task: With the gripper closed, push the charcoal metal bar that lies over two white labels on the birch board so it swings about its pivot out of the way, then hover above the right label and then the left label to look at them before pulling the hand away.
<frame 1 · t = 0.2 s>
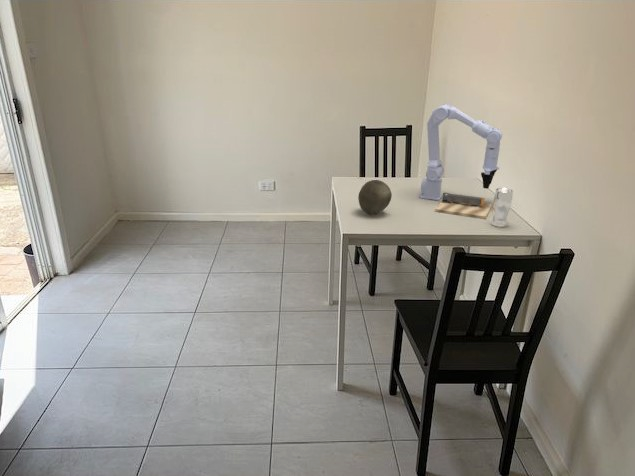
hand: (487, 186, 217), 9 cm above the table, tool pointing down, fingers open, 7 cm apart
label board: (463, 209, 215), on the table
swing bar: (462, 199, 217), point 4 cm above the table, hinge at 0.0°
grey ball: (374, 213, 211), on the table
beer glass: (499, 224, 198), on the table
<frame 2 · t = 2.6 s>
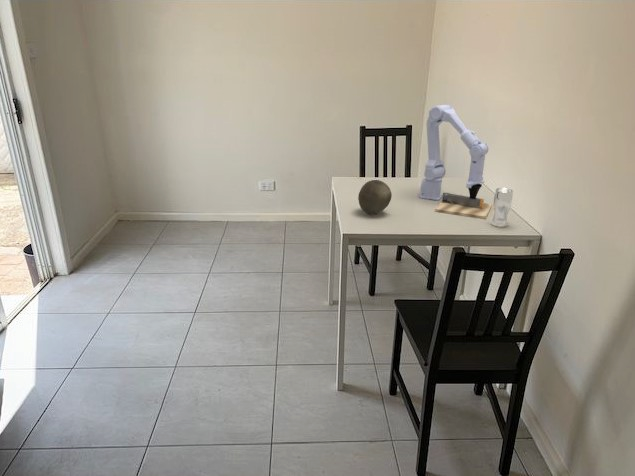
hand: (472, 199, 215), 4 cm above the table, tool pointing down, fingers closed
swing bar: (462, 199, 216), point 4 cm above the table, hinge at 6.1°, touching gripper
everything else where it was.
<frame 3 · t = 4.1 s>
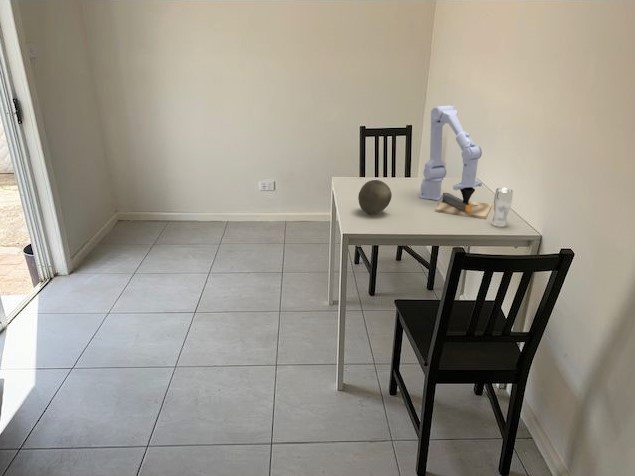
hand: (465, 203, 210), 4 cm above the table, tool pointing down, fingers closed
swing bar: (456, 201, 213), point 4 cm above the table, hinge at 42.2°, touching gripper
everything else where it was.
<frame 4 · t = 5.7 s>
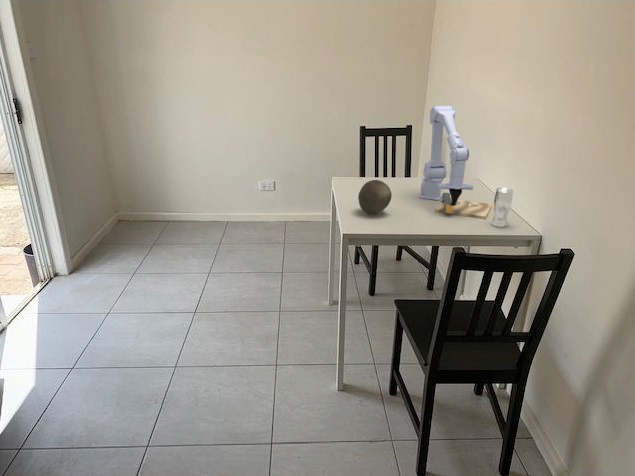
hand: (453, 204, 209), 4 cm above the table, tool pointing down, fingers closed
swing bar: (447, 202, 213), point 4 cm above the table, hinge at 73.0°, touching gripper
everything else where it was.
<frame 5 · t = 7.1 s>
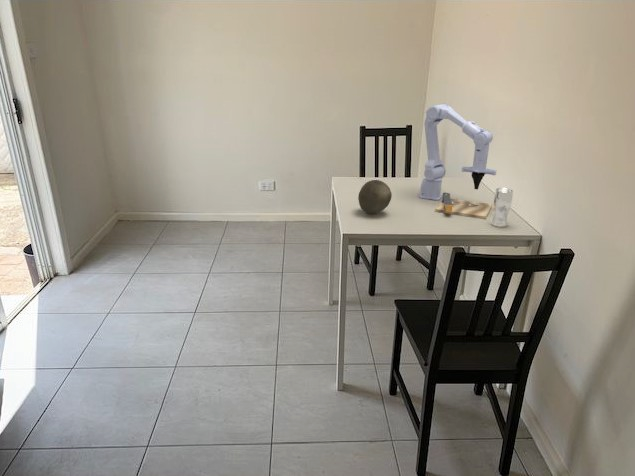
hand: (476, 188, 212), 9 cm above the table, tool pointing down, fingers closed
swing bar: (447, 202, 213), point 4 cm above the table, hinge at 73.3°
everything else where it was.
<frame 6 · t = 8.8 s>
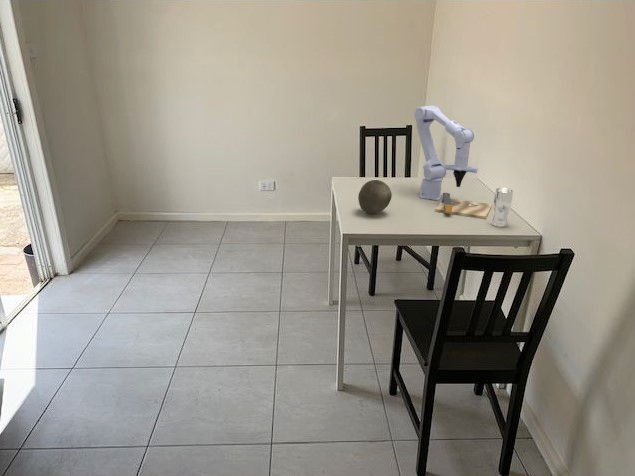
hand: (458, 186, 216), 9 cm above the table, tool pointing down, fingers closed
nothing on the table moved.
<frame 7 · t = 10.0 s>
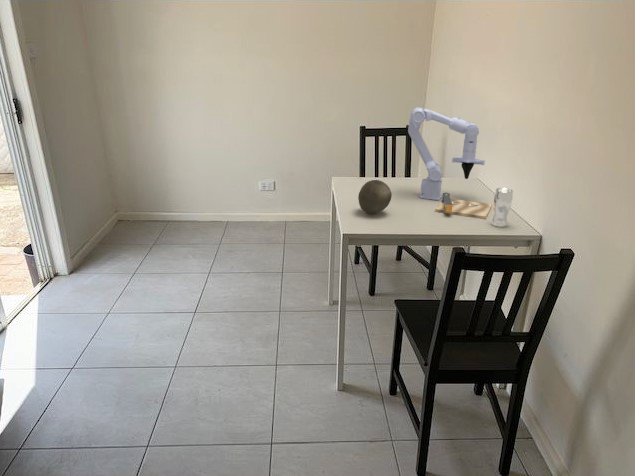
hand: (466, 178, 224), 10 cm above the table, tool pointing down, fingers closed
nothing on the table moved.
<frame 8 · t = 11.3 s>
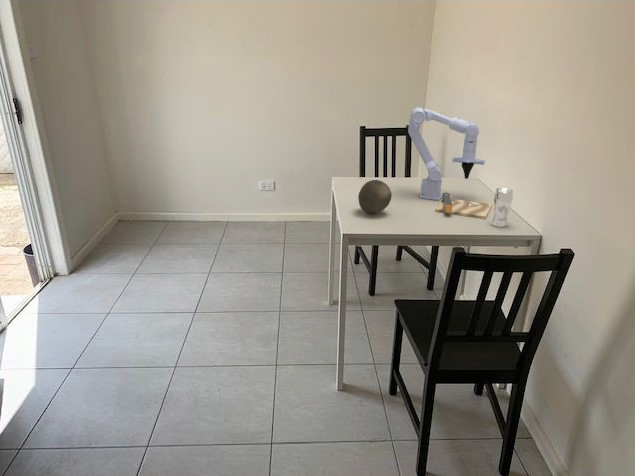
hand: (466, 178, 225), 10 cm above the table, tool pointing down, fingers closed
nothing on the table moved.
at the end: swing bar at +73° (first picture: +0°); beer glass moved 0.2 cm from its start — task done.
